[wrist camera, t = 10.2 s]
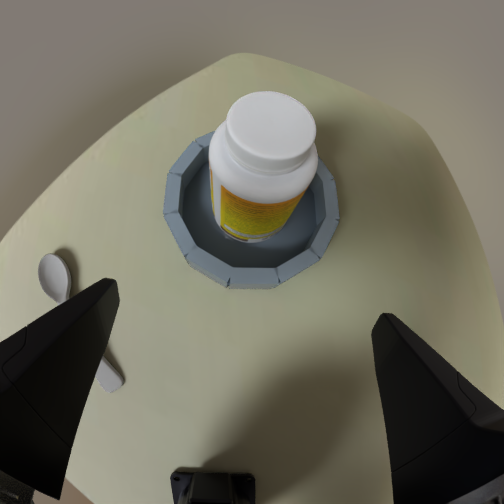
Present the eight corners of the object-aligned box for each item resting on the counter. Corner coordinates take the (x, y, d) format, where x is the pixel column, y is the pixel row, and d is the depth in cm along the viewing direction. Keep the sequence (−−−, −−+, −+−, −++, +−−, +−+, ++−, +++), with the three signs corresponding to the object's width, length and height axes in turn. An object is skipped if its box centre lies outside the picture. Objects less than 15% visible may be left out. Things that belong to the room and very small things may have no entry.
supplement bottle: (299, 226, 21) (357, 154, 11) (231, 257, 20) (242, 197, 10) (265, 165, 22) (294, 70, 12) (200, 191, 21) (188, 97, 11)
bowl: (328, 288, 21) (344, 283, 18) (166, 287, 20) (158, 281, 17) (317, 151, 24) (327, 132, 21) (179, 144, 23) (175, 123, 20)
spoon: (63, 248, 20) (52, 243, 18) (135, 376, 19) (128, 383, 17) (40, 266, 19) (27, 263, 17) (108, 392, 19) (99, 400, 17)
